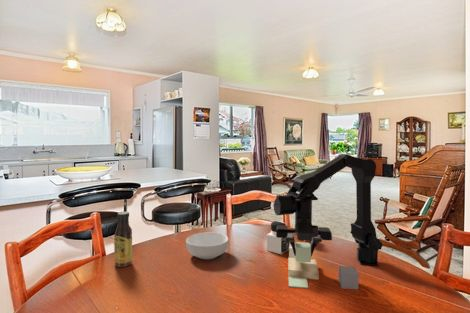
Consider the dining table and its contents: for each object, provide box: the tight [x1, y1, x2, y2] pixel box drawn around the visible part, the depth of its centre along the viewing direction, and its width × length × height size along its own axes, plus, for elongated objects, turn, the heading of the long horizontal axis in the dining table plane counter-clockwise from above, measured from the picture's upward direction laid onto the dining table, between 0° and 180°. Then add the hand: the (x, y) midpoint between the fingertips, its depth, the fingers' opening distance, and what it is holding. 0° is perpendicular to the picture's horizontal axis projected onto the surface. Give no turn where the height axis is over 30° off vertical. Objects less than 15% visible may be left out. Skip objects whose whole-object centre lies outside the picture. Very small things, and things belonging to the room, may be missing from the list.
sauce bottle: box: [113, 211, 133, 268], centre depth 109 cm, size 6×6×20 cm
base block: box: [287, 257, 320, 281], centre depth 103 cm, size 10×10×3 cm
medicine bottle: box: [266, 220, 290, 255], centre depth 122 cm, size 7×7×12 cm
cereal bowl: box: [185, 231, 229, 261], centre depth 117 cm, size 17×17×7 cm
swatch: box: [287, 276, 309, 289], centre depth 95 cm, size 6×6×1 cm
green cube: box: [295, 241, 312, 262], centre depth 103 cm, size 5×5×5 cm
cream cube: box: [288, 242, 296, 258], centre depth 114 cm, size 5×5×5 cm
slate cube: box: [338, 265, 360, 290], centre depth 94 cm, size 5×5×5 cm
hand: (302, 256), depth 103 cm, fingers closed on green cube, 5 cm apart
